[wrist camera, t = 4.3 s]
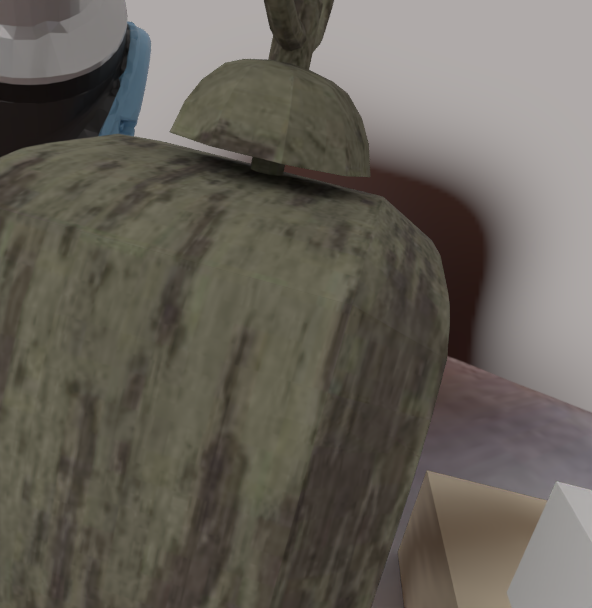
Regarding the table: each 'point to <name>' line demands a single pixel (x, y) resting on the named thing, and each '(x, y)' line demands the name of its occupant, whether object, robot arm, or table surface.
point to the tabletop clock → (212, 353)
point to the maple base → (464, 543)
